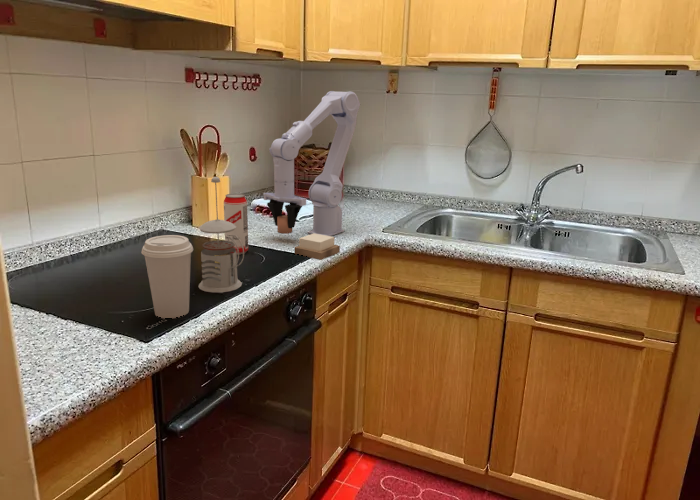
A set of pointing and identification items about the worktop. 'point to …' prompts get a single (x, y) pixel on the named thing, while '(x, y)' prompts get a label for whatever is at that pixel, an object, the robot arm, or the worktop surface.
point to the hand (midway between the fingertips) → (284, 226)
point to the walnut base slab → (318, 252)
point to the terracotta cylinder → (283, 225)
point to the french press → (224, 275)
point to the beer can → (237, 220)
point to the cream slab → (316, 242)
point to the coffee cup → (169, 274)
